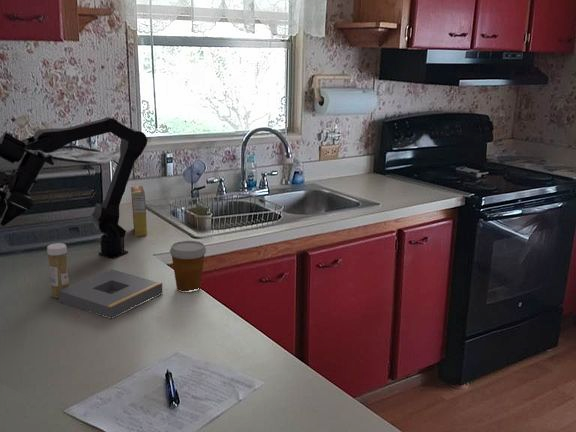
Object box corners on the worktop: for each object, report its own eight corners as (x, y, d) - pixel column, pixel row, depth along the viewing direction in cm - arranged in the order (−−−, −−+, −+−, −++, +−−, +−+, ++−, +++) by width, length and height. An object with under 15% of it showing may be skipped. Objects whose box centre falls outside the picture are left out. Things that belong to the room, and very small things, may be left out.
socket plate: (112, 279, 167) (111, 268, 166) (162, 294, 158) (162, 282, 157) (59, 301, 152) (58, 289, 151) (111, 319, 143) (110, 306, 142)
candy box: (132, 228, 212) (130, 186, 208) (145, 228, 213) (143, 185, 209) (134, 236, 204) (132, 192, 200) (147, 235, 205) (145, 191, 201)
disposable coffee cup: (172, 296, 157) (171, 252, 154) (169, 282, 166) (168, 241, 163) (208, 293, 160) (208, 250, 156) (204, 280, 168) (203, 239, 165)
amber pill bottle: (72, 296, 155) (68, 246, 152) (53, 300, 153) (49, 249, 149) (67, 290, 159) (63, 241, 155) (49, 293, 156) (45, 244, 153)
